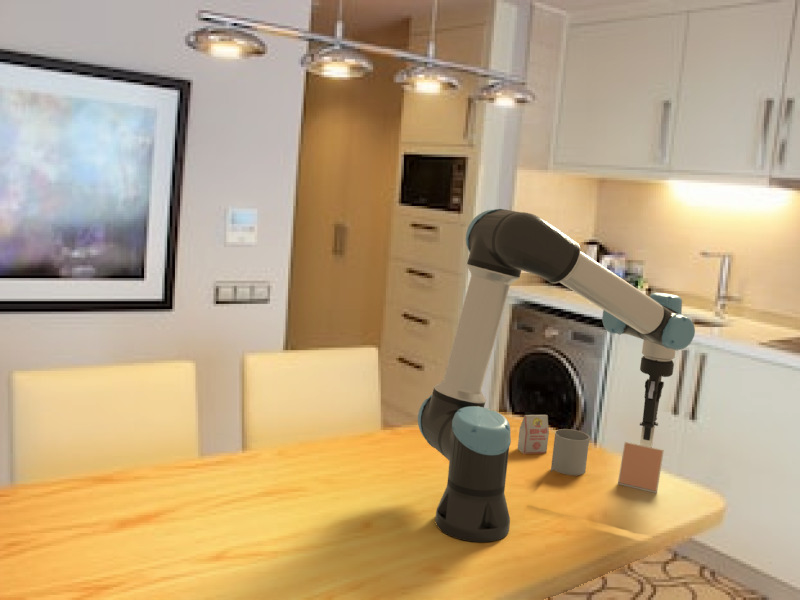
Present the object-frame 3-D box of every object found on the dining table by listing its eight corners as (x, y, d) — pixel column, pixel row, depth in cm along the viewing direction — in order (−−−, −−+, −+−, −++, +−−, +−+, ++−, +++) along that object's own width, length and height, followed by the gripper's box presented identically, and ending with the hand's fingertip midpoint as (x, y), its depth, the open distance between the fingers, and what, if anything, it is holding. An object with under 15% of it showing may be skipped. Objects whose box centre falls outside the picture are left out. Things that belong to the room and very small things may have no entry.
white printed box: (517, 448, 202) (521, 413, 200) (540, 448, 204) (544, 412, 202) (523, 453, 199) (527, 417, 197) (546, 453, 200) (550, 417, 199)
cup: (575, 482, 182) (580, 442, 180) (545, 472, 186) (549, 434, 185) (590, 473, 188) (594, 435, 187) (559, 464, 193) (564, 426, 192)
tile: (625, 441, 181) (624, 441, 181) (663, 449, 178) (663, 450, 177) (617, 484, 180) (617, 485, 180) (656, 494, 177) (656, 494, 176)
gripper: (671, 365, 173) (658, 462, 177) (677, 355, 185) (664, 447, 188) (638, 359, 176) (625, 455, 180) (645, 350, 188) (633, 440, 192)
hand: (645, 451), depth 184 cm, fingers closed
